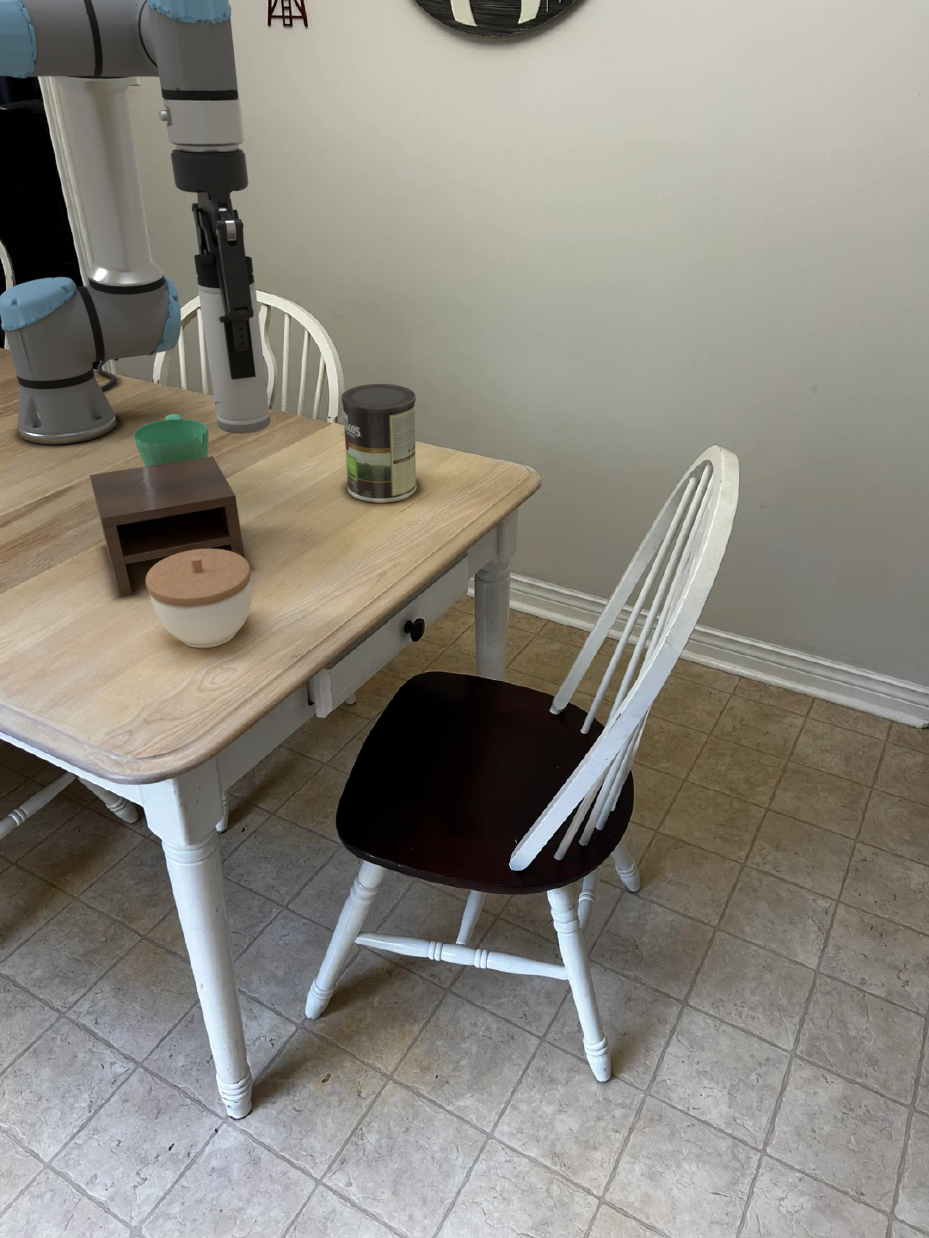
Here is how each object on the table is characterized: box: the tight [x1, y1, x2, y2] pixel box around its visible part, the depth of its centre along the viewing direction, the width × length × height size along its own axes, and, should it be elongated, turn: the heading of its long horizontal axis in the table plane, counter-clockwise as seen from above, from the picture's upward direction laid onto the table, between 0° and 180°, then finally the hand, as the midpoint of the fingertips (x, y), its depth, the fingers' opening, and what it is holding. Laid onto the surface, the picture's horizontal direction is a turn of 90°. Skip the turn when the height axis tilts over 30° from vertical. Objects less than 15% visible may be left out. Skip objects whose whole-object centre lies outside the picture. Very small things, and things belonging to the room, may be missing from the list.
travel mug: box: [193, 253, 271, 435], centre depth 101 cm, size 6×7×20 cm
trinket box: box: [145, 548, 253, 649], centre depth 94 cm, size 11×11×9 cm
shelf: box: [89, 455, 246, 597], centre depth 107 cm, size 13×15×10 cm
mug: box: [133, 413, 209, 467], centre depth 124 cm, size 15×10×10 cm
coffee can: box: [341, 383, 418, 504], centre depth 125 cm, size 10×10×14 cm
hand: (236, 368), depth 103 cm, fingers closed on travel mug, 6 cm apart
